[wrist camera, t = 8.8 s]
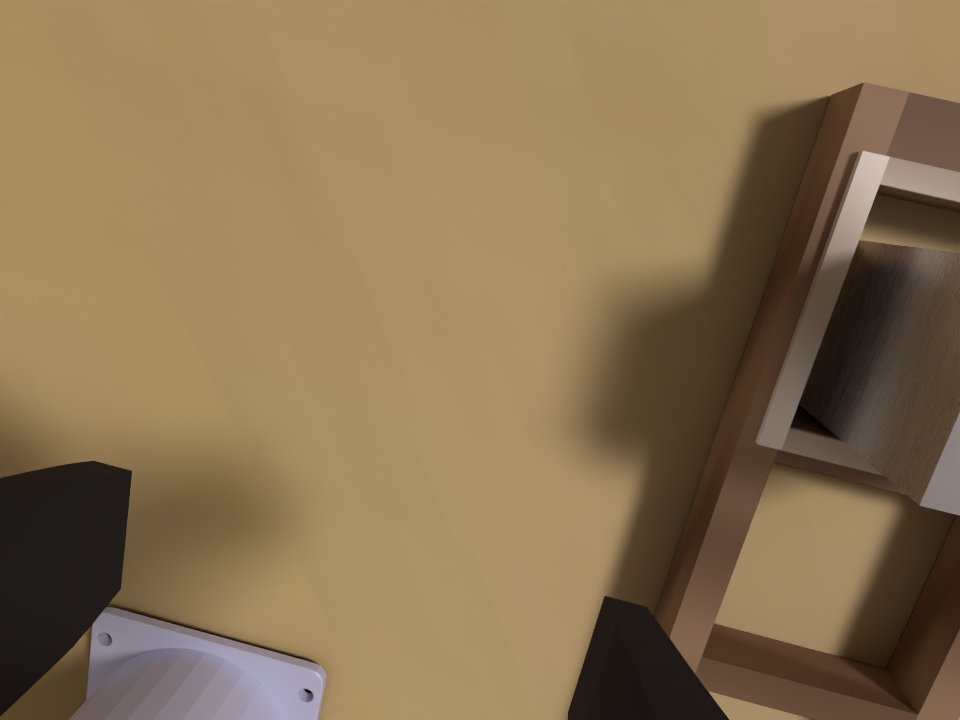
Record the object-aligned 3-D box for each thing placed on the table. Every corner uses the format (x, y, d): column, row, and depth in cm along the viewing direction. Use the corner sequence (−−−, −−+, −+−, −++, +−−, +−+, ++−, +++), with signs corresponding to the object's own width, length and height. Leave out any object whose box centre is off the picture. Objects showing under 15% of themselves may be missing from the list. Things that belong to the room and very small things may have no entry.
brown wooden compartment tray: (814, 899, 22) (840, 967, 20) (580, 833, 22) (582, 892, 20) (1162, 167, 16) (1246, 163, 14) (831, 95, 16) (868, 80, 14)
